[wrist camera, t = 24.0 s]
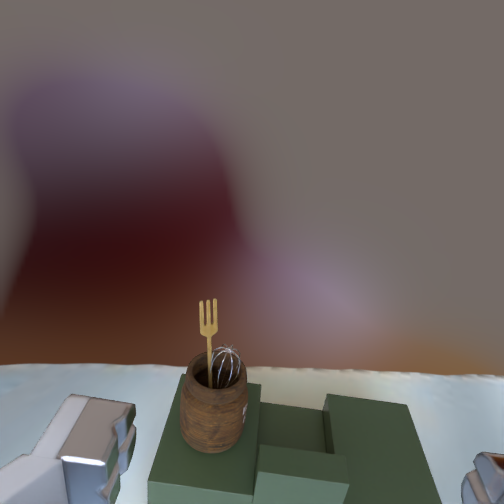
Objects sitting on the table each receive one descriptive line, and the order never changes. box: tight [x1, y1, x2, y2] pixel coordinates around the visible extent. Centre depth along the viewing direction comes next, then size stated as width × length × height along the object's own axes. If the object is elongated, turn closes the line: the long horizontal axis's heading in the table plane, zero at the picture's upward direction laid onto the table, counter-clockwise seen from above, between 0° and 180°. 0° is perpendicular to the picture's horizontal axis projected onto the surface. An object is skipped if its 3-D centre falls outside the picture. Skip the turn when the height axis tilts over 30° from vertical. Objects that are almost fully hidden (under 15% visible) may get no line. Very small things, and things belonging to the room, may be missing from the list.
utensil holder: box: [180, 299, 248, 453], centre depth 34 cm, size 6×6×12 cm
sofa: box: [147, 374, 442, 504], centre depth 38 cm, size 24×12×10 cm, turn 86°
